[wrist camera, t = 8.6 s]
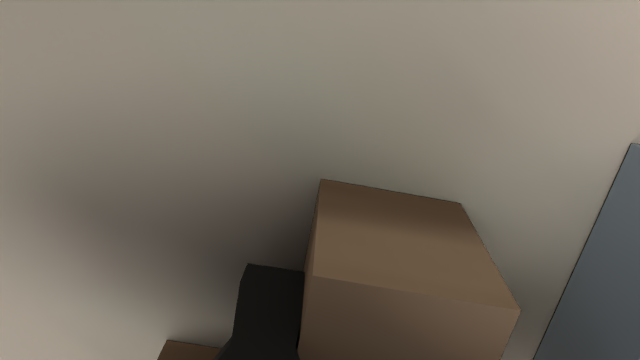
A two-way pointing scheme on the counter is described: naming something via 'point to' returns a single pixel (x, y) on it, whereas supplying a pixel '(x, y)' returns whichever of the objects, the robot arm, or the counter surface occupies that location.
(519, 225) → the counter surface
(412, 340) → the walnut tee
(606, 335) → the slate fence
